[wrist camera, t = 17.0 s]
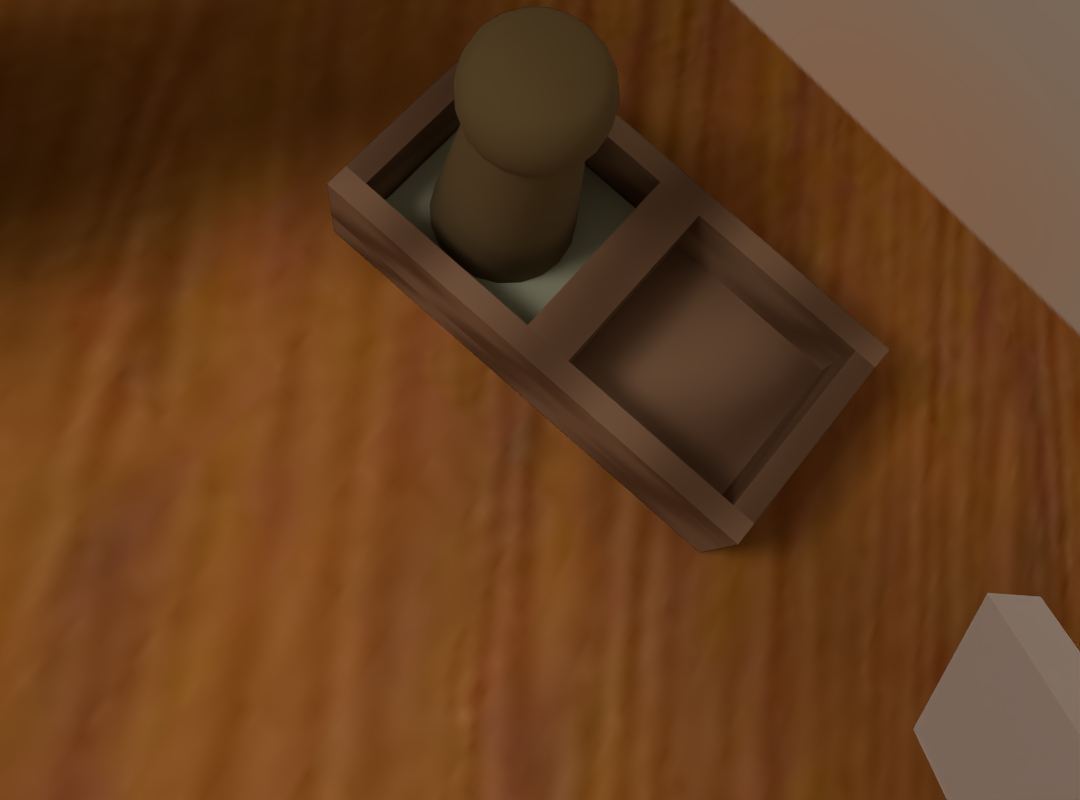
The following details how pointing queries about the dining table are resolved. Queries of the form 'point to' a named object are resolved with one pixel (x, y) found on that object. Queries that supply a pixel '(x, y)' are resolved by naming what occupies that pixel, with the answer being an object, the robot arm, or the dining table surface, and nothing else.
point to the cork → (522, 142)
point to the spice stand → (629, 322)
